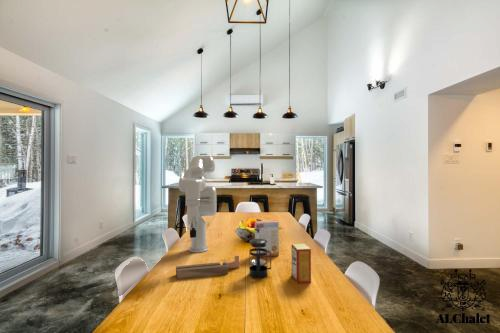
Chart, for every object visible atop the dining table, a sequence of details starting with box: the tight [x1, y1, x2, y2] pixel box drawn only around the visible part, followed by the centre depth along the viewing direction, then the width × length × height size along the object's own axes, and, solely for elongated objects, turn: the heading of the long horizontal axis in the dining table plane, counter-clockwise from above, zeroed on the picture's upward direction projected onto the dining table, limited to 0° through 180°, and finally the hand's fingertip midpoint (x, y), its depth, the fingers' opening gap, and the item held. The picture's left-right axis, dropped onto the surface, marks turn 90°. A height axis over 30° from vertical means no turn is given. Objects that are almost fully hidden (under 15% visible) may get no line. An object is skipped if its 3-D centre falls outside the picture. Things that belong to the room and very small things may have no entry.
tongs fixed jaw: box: [176, 261, 229, 280], centre depth 131 cm, size 4×25×5 cm, turn 105°
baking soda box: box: [291, 242, 312, 284], centre depth 126 cm, size 10×6×16 cm
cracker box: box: [254, 219, 280, 258], centre depth 161 cm, size 14×6×21 cm, turn 100°
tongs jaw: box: [175, 261, 221, 277], centre depth 133 cm, size 2×22×4 cm, turn 105°
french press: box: [248, 228, 272, 279], centre depth 131 cm, size 12×9×23 cm
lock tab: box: [226, 254, 240, 269], centre depth 140 cm, size 2×7×6 cm, turn 105°
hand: (193, 237), depth 138 cm, fingers closed
